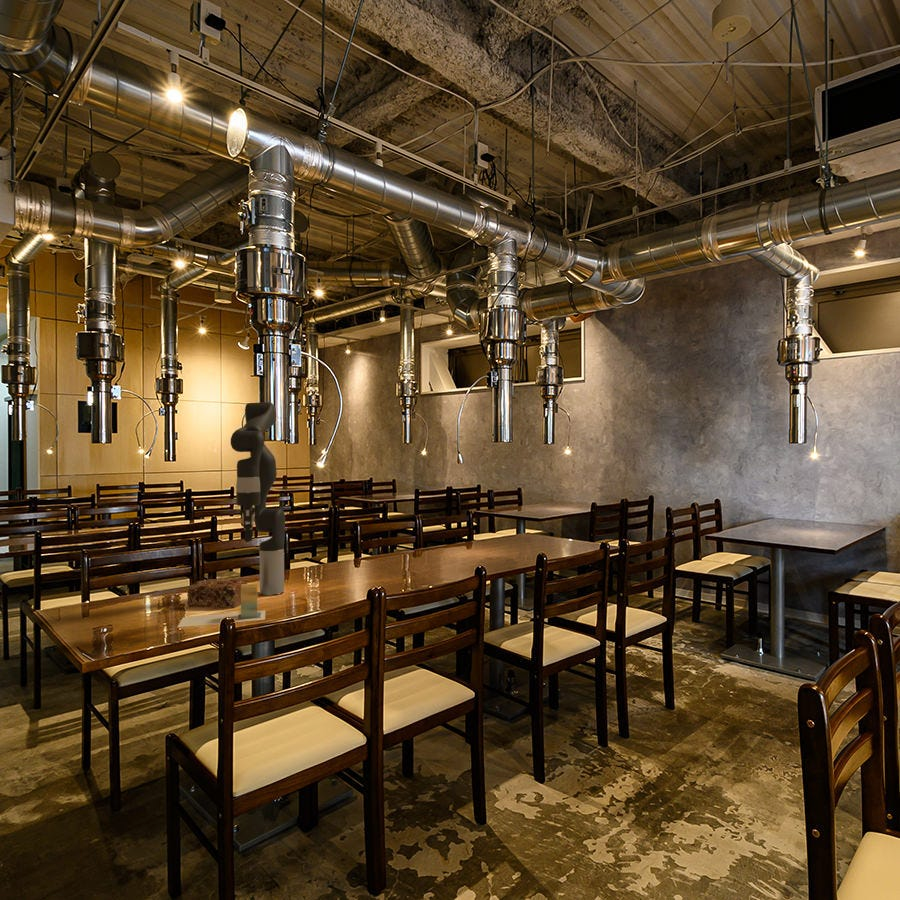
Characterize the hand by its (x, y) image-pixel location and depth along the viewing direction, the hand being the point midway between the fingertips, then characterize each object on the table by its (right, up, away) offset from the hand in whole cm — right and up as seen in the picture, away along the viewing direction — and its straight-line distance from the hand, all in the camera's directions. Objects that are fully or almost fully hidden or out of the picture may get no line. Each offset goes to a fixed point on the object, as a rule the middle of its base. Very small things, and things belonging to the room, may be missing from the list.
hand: (248, 539), depth 192 cm
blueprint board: (-7, -26, -3) cm, 27 cm away
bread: (-17, -27, +17) cm, 36 cm away
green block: (0, -25, 0) cm, 25 cm away
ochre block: (0, -20, 0) cm, 20 cm away
